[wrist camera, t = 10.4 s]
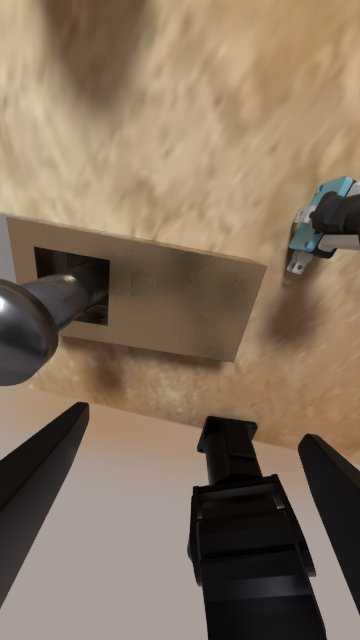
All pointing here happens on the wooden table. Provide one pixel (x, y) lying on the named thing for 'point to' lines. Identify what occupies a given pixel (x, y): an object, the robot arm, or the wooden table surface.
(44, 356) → the metal knob
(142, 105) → the wooden table surface
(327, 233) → the push button
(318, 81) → the wooden table surface
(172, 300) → the tan and silver block
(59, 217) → the wooden table surface
